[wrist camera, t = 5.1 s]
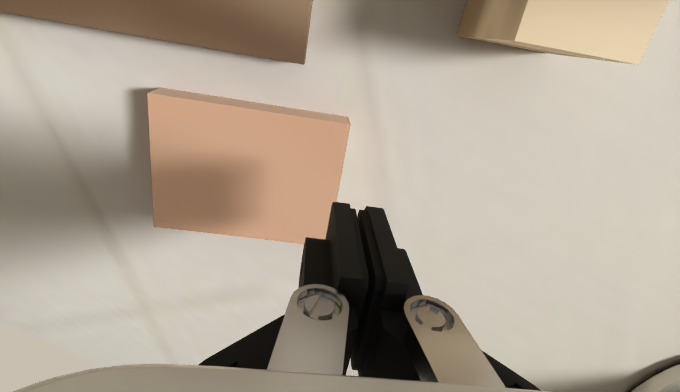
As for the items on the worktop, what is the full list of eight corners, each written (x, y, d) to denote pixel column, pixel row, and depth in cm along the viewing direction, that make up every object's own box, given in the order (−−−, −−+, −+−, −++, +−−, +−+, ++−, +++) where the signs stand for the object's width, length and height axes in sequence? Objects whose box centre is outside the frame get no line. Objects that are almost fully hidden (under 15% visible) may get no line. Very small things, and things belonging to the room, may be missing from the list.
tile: (328, 246, 18) (154, 226, 17) (327, 229, 19) (167, 210, 18) (350, 124, 15) (147, 92, 14) (347, 115, 17) (163, 86, 16)
